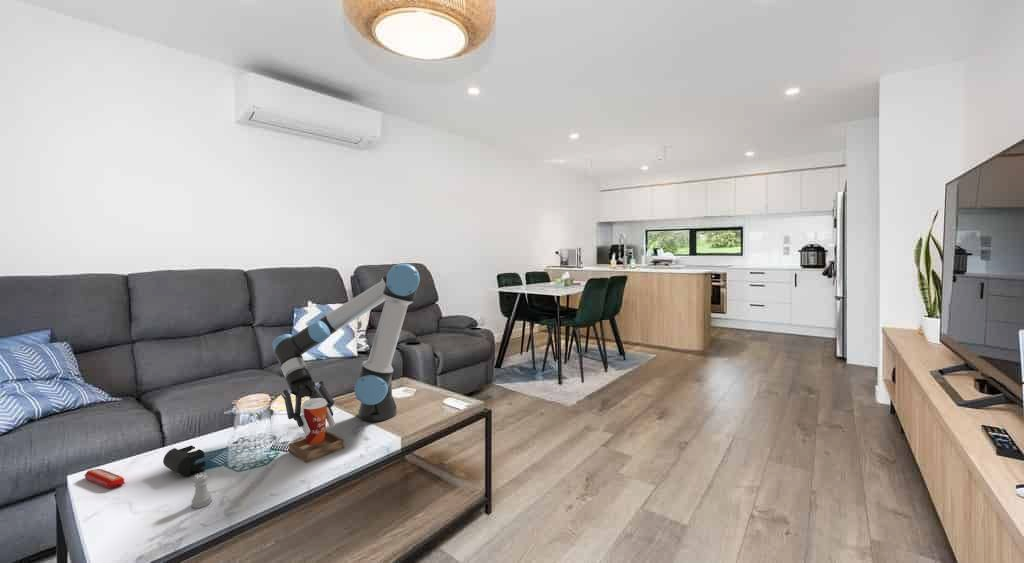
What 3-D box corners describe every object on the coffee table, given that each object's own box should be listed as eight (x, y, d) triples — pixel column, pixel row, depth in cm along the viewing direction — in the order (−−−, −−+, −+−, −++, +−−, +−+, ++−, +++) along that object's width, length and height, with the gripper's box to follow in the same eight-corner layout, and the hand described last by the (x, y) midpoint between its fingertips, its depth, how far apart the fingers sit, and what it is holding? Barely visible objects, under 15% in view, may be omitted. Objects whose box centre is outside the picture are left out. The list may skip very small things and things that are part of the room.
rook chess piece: (189, 510, 107) (187, 481, 107) (194, 501, 111) (192, 472, 111) (209, 506, 109) (208, 477, 109) (214, 497, 113) (212, 469, 113)
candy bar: (127, 485, 120) (126, 475, 120) (111, 492, 116) (110, 482, 116) (98, 474, 126) (98, 464, 126) (82, 480, 123) (81, 470, 123)
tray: (326, 438, 149) (326, 430, 149) (344, 448, 142) (344, 439, 142) (289, 452, 139) (288, 443, 139) (306, 463, 132) (305, 453, 132)
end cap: (163, 473, 126) (162, 451, 126) (190, 463, 132) (189, 442, 132) (178, 482, 121) (177, 459, 121) (206, 471, 127) (204, 450, 127)
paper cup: (318, 447, 136) (317, 406, 135) (297, 445, 137) (296, 404, 137) (333, 437, 143) (332, 398, 143) (313, 435, 145) (312, 396, 144)
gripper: (321, 373, 157) (345, 425, 148) (262, 386, 141) (285, 446, 132) (328, 361, 153) (353, 414, 144) (268, 374, 137) (292, 434, 128)
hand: (320, 429), depth 138 cm, fingers closed on paper cup, 8 cm apart
